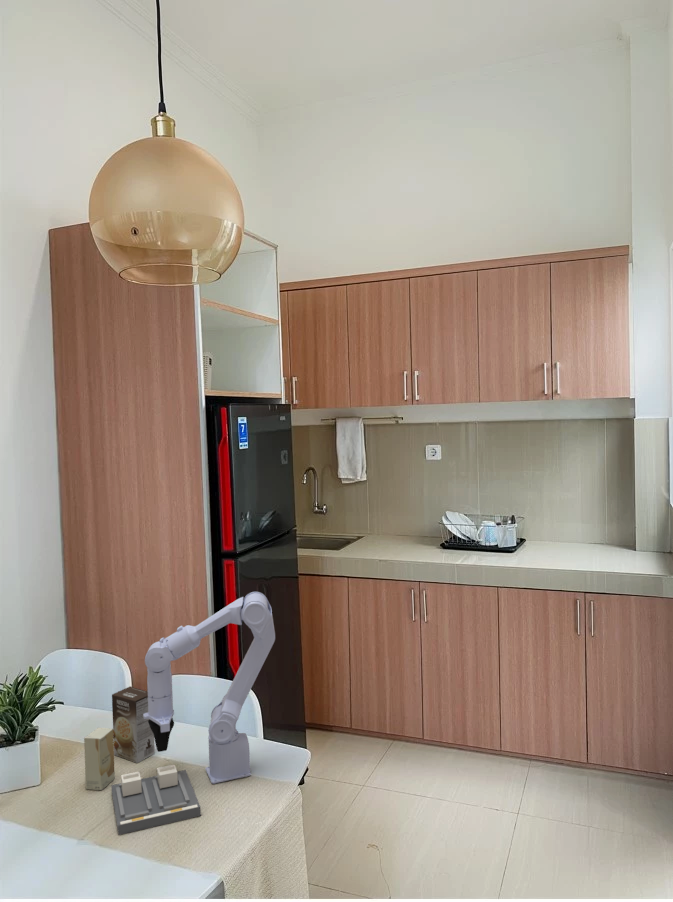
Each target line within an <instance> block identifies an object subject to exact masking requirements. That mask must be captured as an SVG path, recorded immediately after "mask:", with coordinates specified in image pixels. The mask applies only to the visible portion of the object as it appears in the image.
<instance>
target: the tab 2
mask: <svg viewBox="0 0 673 902" xmlns="http://www.w3.org/2000/svg"><path fill="white" fill-rule="evenodd" d="M177 771H178V770H177V767H176V765H175V764H174V763H173V764H169V765H165V766H160V767H157V768H156V776H157V781H158V784H159V787H160V789H161V788H165V787H170V786H175V785H178V778H177Z"/></svg>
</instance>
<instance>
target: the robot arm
mask: <svg viewBox="0 0 673 902" xmlns="http://www.w3.org/2000/svg"><path fill="white" fill-rule="evenodd" d="M272 612H273V610H272V606H271V604H270V602H269V600H268V597H266V595H265V594H264V593H262V592H260V591H252V592H249V593H247V594H246V595H245V597H244V596H241V597H239V598H237V599H236V600H234V601H233V602H231V603H229V604H228V605H226V606H224V607H223V608H222V609H220V610H219V611H217V612H215V613H214V614H212V615H211V616H209V617H207V618H206V619H204V620H203V621H201V622H200V623H198V624H196V625H190V624H189V625H187V624H186V625H185V626H183V625H180V626H179V627H178V626H177V629H176V631H175V632H172V634H170V635H169V636H166V637H161V638H160V639H159V641H155V642H153V643H152V644H151V645H150V646H149V647H148V650H147V652H146V654H145V658H144V664H145V666H146V671H147V676H146V681H147V682H146V684H147V685H146V687H147V692H148V713H144V714H143V717H144V719H150V720H148V723H149V726H150V728H151V730H152V732H153V734H154V744H155V747H156V750H157V752H158V753H160V752H166V751H167V750H168V747H169V740H170V736H171V732H172V730H173V728H174V726H175V720H174V715H175V710H174V700H173V694H174V693H173V674H172V665H171V664H172V663H171V662H172V661H177V660H178V659H180V658H181V657H183V656H185V655H187V654H188V653H190V652H191V651H193V650H195V649H196V648H198V647H200V644H201V641H202V639H203V638H205V637H206V636H209V635H211V634H212V633H215V632H216V631H218V630H220V629H222V628H223V627H225V626H227V625H229V624H232V625H233V624H234V625H238V626H242V625H243V622H244V624H245V625H246V626H247V627H248V629H250V631H251V633H252V635H253V640H252V641H251V644H249V648H248V649H247V652H246V653H245V655H244V658H243V660H242V662H241V664H240V665H239V667H238V669H237V672H236V674H235V676H234V678H233V679H232V682H231V684H230V686H229V688H228V690H227V692H226V693H225V695H224V696H223V697H222V700H221V701H220V702H219V703H218V704H217V705H216V706H214V708H213V709H212V710H211V713H210V715H211V716H210V724H209V726H208V738H207V739H208V754H209V755H208V758H209V759H208V762H209V763H208V765H209V766H206V767H205V768H204V769H205V772H206V774H207V777H208V778H209V779H208V780H209V781H210V783H211V784H213V785H214V784H219V783H222V782H228V781H232V780H237V779H242V778H246V777H250V776H252V773H251V760H250V759H251V758H250V757H251V756H250V755H251V753H250V752H251V751H250V743H249V738H248V736H247V733H246V732H239V731H238V730H237V727H236V726H237V723H238V720H239V718H240V715H241V711H242V709H243V706H244V703H245V701H246V699H247V698H248V695H249V694H250V691H251V689H252V687H253V686H254V684H255V681H256V680H257V677H258V675H259V673H260V671H261V669H262V667H263V665H264V663H265V661H266V659H267V658H268V655H269V653H270V651H271V649H272V648H273V645H274V643H275V642H276V631H275V625H274V617H273V613H272Z"/></svg>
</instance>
